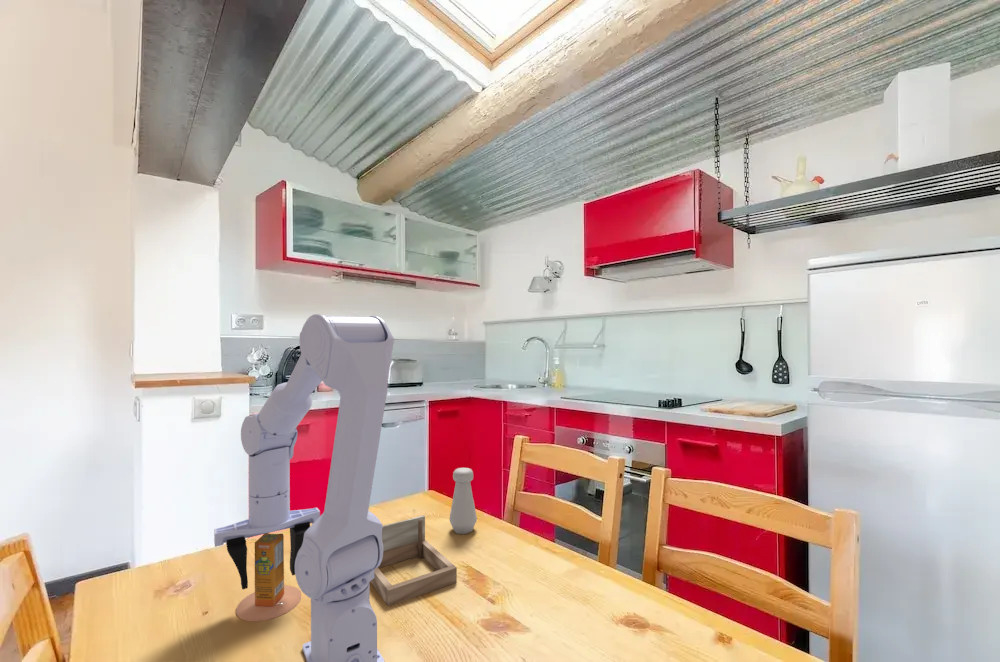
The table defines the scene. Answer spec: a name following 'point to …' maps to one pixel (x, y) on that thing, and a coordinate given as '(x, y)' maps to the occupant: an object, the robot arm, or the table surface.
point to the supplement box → (269, 569)
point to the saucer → (259, 613)
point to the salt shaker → (463, 502)
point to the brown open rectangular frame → (405, 544)
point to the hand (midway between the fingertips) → (269, 578)
